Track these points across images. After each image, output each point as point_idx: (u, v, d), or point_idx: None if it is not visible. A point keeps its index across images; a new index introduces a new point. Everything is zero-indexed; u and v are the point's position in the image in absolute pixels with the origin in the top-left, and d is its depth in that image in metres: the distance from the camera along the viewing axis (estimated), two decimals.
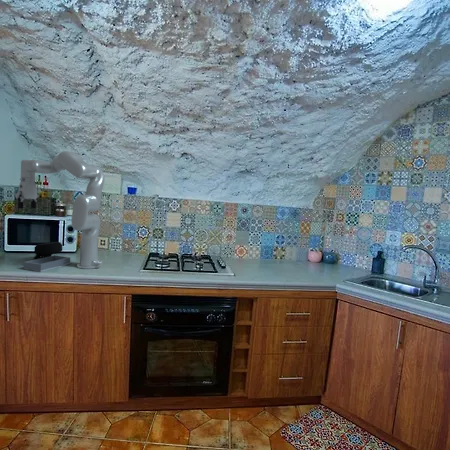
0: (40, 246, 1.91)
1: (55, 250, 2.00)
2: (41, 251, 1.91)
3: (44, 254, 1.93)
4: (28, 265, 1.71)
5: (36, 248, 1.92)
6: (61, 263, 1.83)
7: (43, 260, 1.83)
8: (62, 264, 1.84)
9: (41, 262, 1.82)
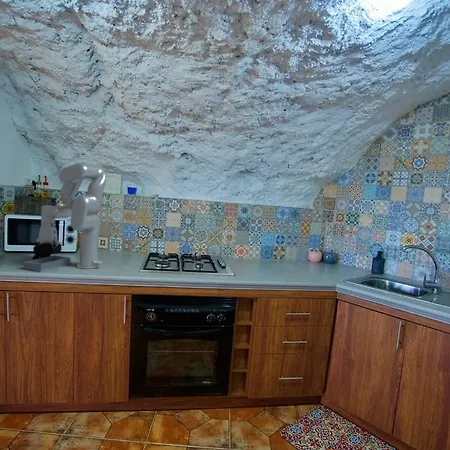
0: (39, 246, 1.91)
1: None
2: (40, 251, 1.91)
3: (43, 254, 1.92)
4: (28, 265, 1.71)
5: (35, 248, 1.92)
6: (61, 263, 1.83)
7: (43, 260, 1.83)
8: (62, 264, 1.84)
9: (41, 262, 1.82)
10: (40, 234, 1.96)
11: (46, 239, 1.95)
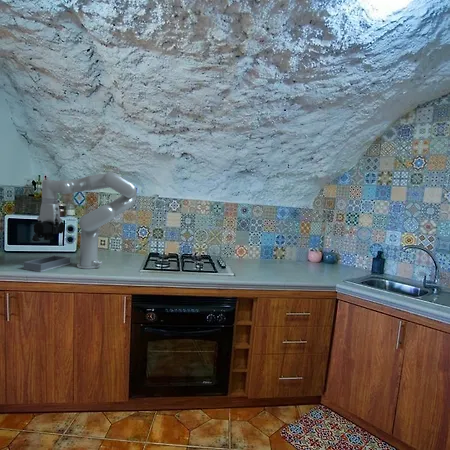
0: (40, 224, 1.73)
1: None
2: (41, 230, 1.73)
3: (44, 233, 1.74)
4: (28, 265, 1.71)
5: (35, 226, 1.74)
6: (61, 263, 1.83)
7: (43, 260, 1.83)
8: (62, 264, 1.84)
9: (41, 262, 1.82)
10: (41, 211, 1.78)
11: (48, 217, 1.77)
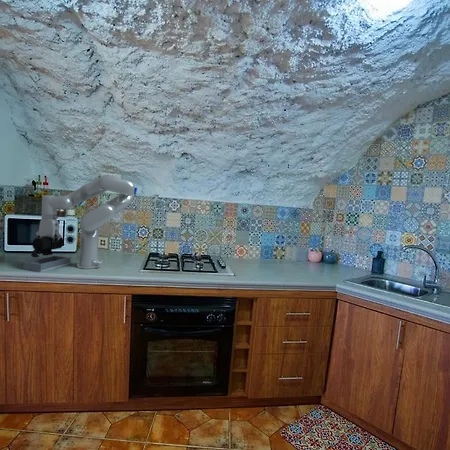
0: (39, 240, 1.73)
1: None
2: (40, 246, 1.73)
3: (43, 249, 1.74)
4: (28, 265, 1.71)
5: (35, 242, 1.74)
6: (61, 263, 1.83)
7: (43, 260, 1.83)
8: (62, 264, 1.84)
9: (41, 262, 1.82)
10: (40, 227, 1.78)
11: (47, 232, 1.77)
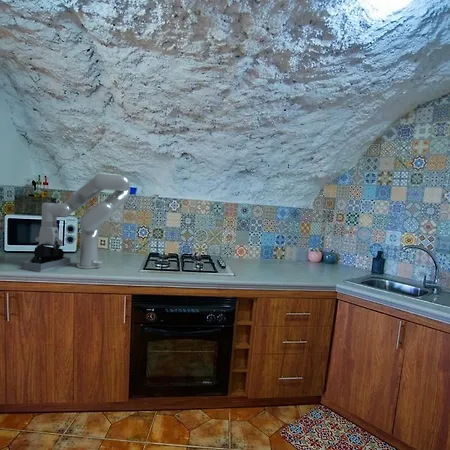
0: (42, 247, 1.75)
1: (56, 255, 1.82)
2: (42, 252, 1.74)
3: (44, 256, 1.75)
4: (28, 265, 1.71)
5: (37, 249, 1.75)
6: (61, 263, 1.83)
7: None
8: (62, 264, 1.84)
9: (41, 262, 1.82)
10: (40, 234, 1.78)
11: (47, 240, 1.77)
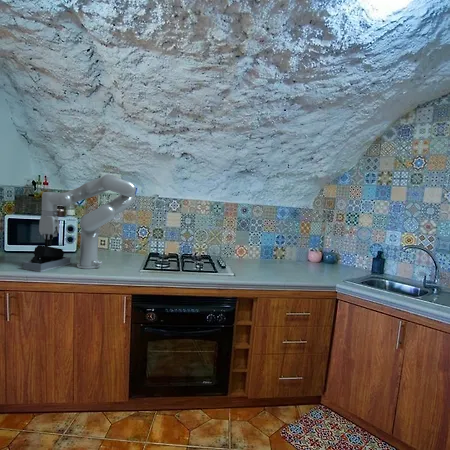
0: (42, 247, 1.75)
1: (56, 255, 1.82)
2: (42, 252, 1.74)
3: (44, 256, 1.75)
4: (28, 265, 1.71)
5: (37, 249, 1.75)
6: (61, 263, 1.83)
7: None
8: (62, 264, 1.84)
9: (41, 262, 1.82)
10: (40, 223, 1.78)
11: (47, 229, 1.77)
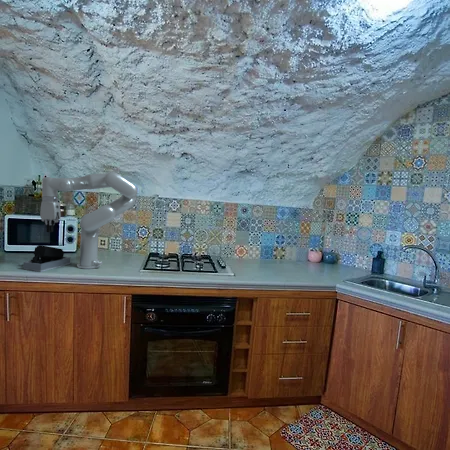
0: (42, 247, 1.75)
1: (56, 255, 1.82)
2: (42, 252, 1.74)
3: (44, 256, 1.75)
4: (28, 265, 1.71)
5: (37, 249, 1.75)
6: (61, 263, 1.83)
7: None
8: (62, 264, 1.84)
9: (41, 262, 1.82)
10: (41, 209, 1.77)
11: (48, 215, 1.76)
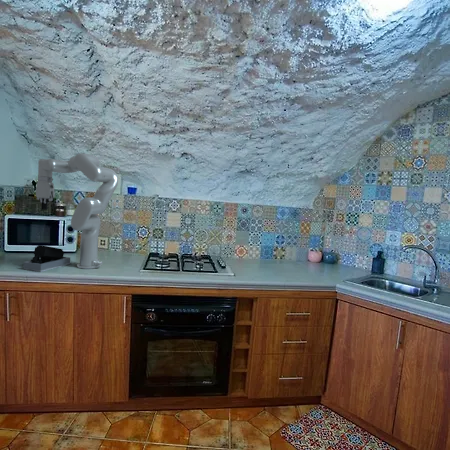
0: (42, 247, 1.75)
1: (56, 255, 1.82)
2: (42, 252, 1.74)
3: (44, 256, 1.75)
4: (28, 265, 1.71)
5: (37, 249, 1.75)
6: (61, 263, 1.83)
7: None
8: (62, 264, 1.84)
9: (41, 262, 1.82)
10: (37, 188, 1.93)
11: (43, 193, 1.92)
